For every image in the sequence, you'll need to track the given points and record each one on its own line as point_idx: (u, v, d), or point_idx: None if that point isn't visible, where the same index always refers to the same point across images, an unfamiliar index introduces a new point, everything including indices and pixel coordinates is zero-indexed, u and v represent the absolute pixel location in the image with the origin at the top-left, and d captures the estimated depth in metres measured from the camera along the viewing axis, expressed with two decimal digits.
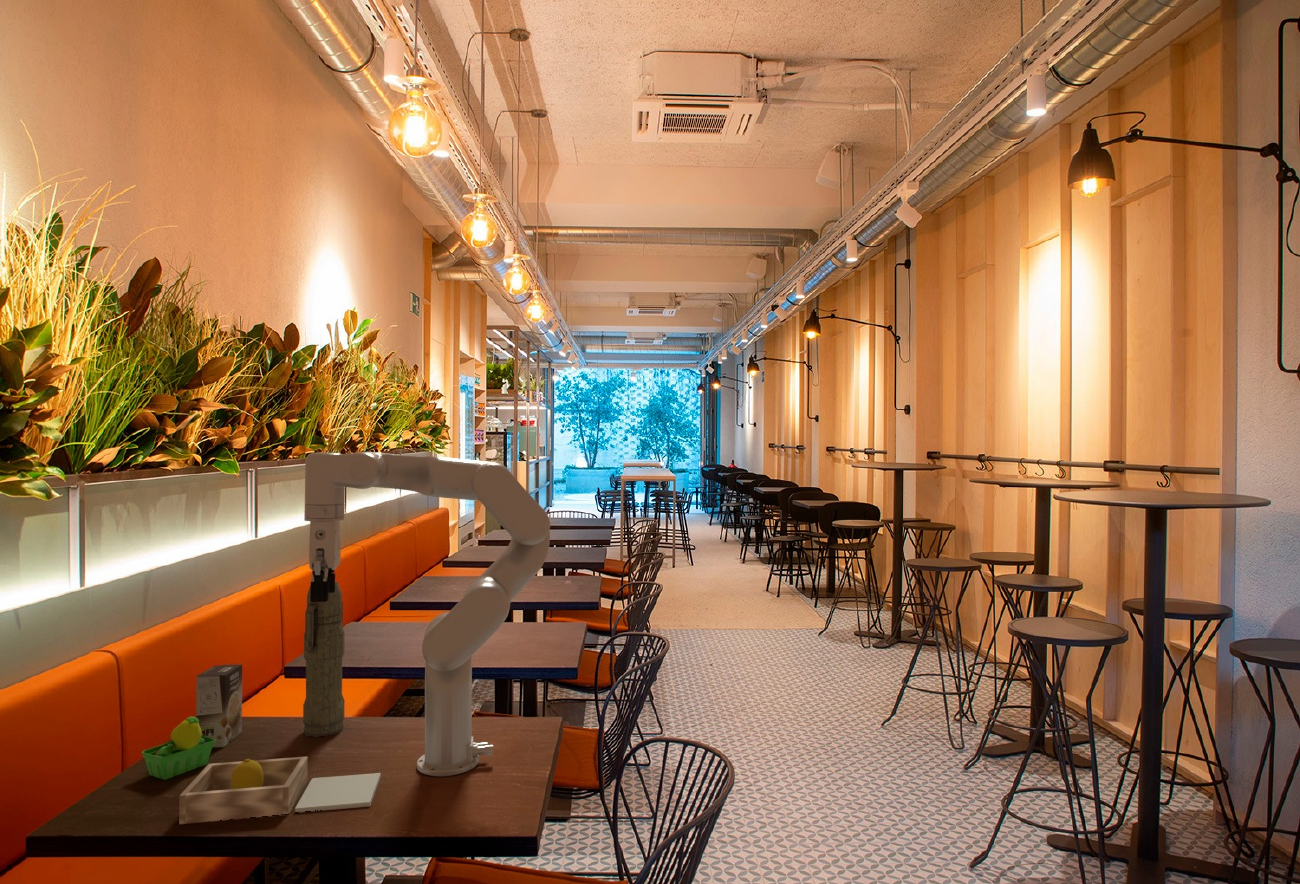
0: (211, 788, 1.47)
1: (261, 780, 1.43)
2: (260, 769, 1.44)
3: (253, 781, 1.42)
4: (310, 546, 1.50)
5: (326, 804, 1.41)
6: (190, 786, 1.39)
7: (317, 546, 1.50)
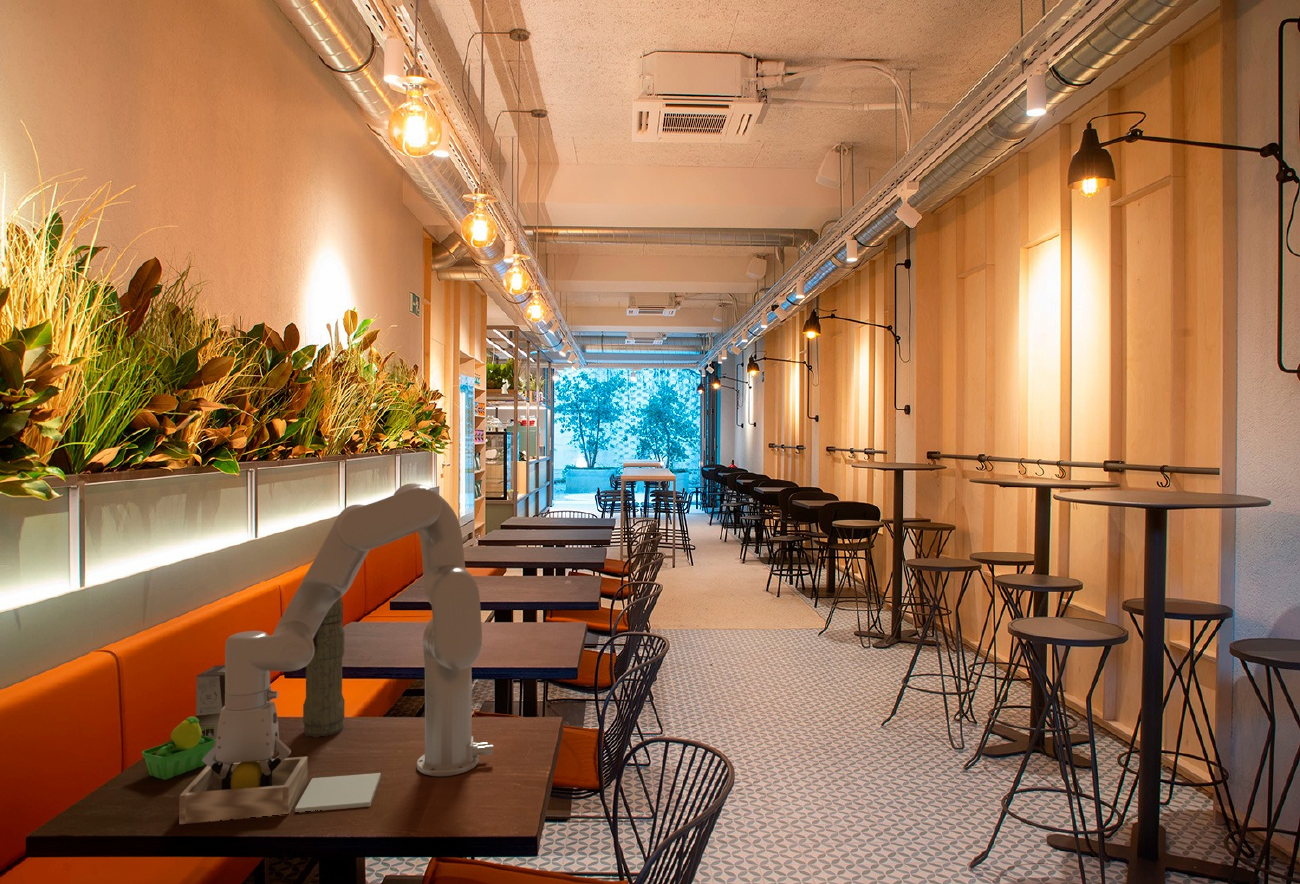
0: (211, 788, 1.47)
1: None
2: (260, 769, 1.44)
3: (253, 781, 1.42)
4: (271, 733, 1.43)
5: (326, 804, 1.41)
6: (190, 786, 1.39)
7: (275, 731, 1.44)
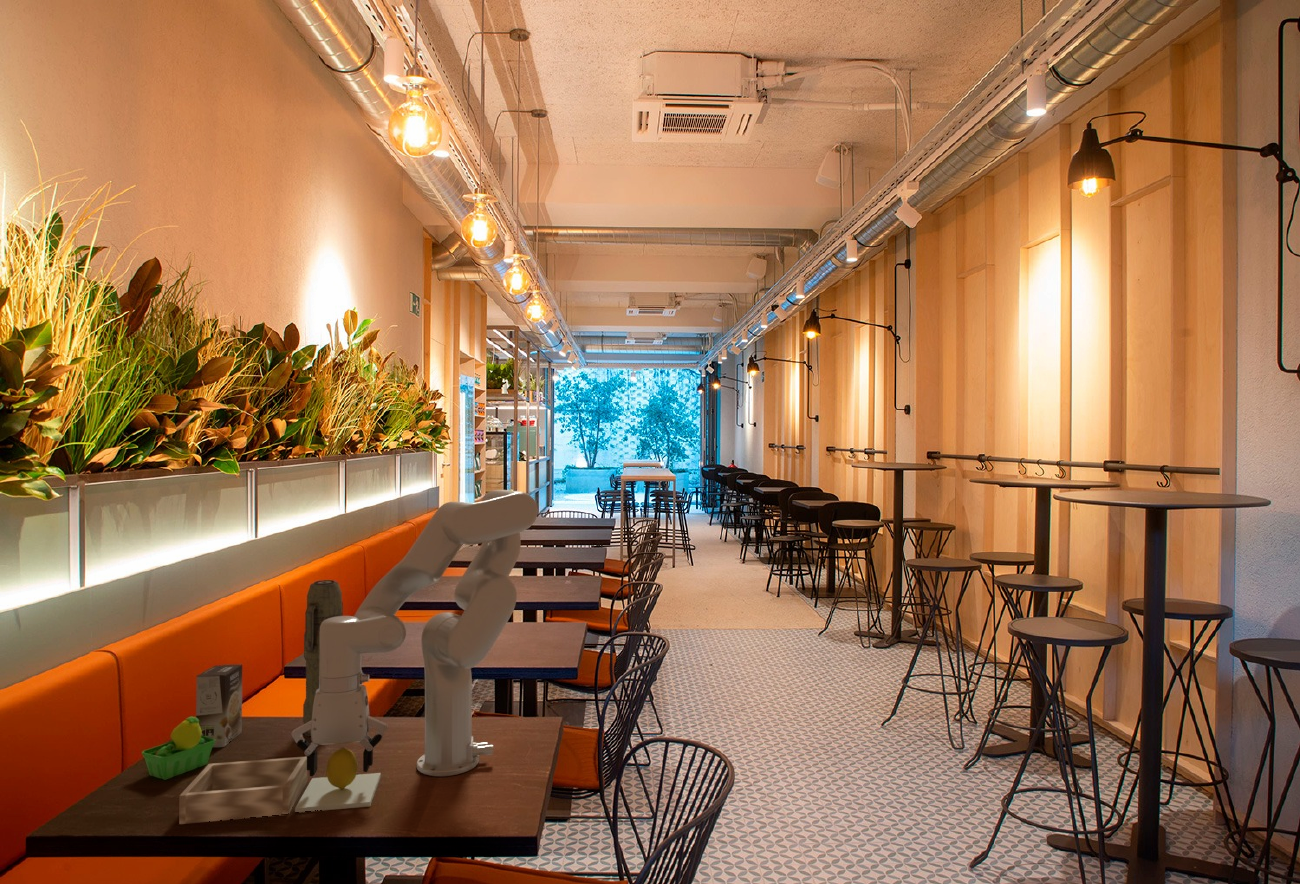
0: (211, 788, 1.47)
1: (356, 768, 1.47)
2: (354, 757, 1.47)
3: (349, 769, 1.45)
4: (364, 716, 1.46)
5: (326, 804, 1.41)
6: (190, 786, 1.39)
7: (367, 713, 1.47)
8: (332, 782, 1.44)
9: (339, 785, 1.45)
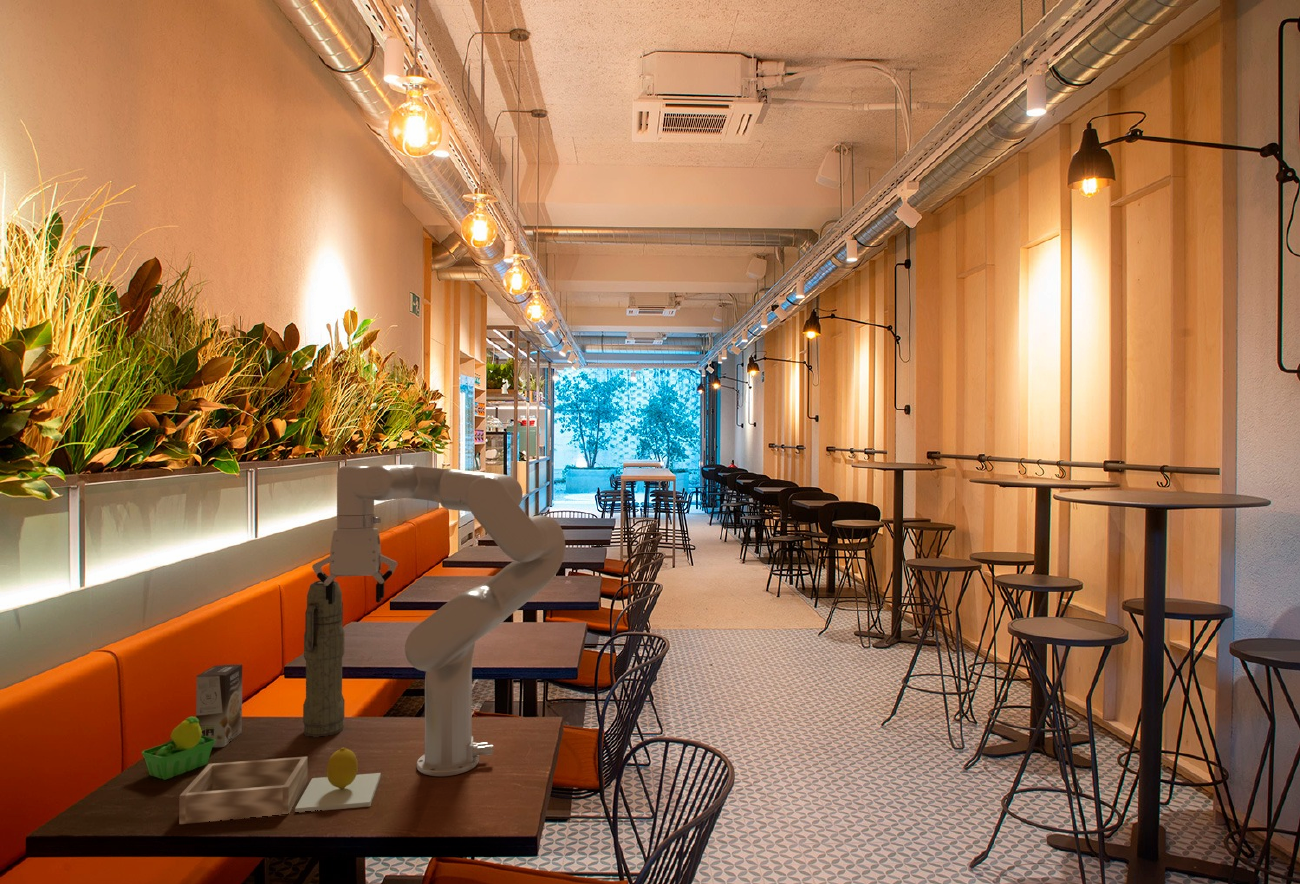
0: (211, 788, 1.47)
1: (356, 768, 1.47)
2: (355, 758, 1.47)
3: (350, 769, 1.45)
4: (376, 552, 1.64)
5: (326, 804, 1.41)
6: (190, 786, 1.39)
7: (379, 551, 1.65)
8: (332, 782, 1.44)
9: (339, 785, 1.45)
